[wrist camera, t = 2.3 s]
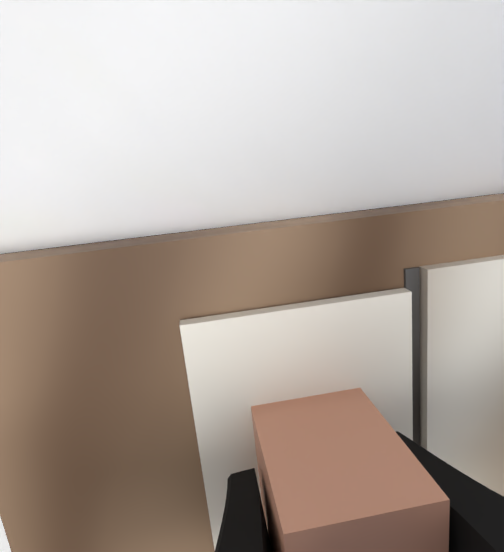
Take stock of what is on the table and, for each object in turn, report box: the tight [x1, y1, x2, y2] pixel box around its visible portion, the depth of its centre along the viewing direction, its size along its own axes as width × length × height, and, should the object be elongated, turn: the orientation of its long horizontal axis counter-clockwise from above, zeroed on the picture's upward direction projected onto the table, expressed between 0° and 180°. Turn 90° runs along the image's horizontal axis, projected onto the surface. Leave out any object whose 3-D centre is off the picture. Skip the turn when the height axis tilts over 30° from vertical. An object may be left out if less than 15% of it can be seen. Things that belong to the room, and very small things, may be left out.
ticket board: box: [0, 193, 504, 552], centre depth 12 cm, size 20×13×3 cm, turn 96°
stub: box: [179, 288, 450, 552], centre depth 10 cm, size 6×9×4 cm, turn 6°
